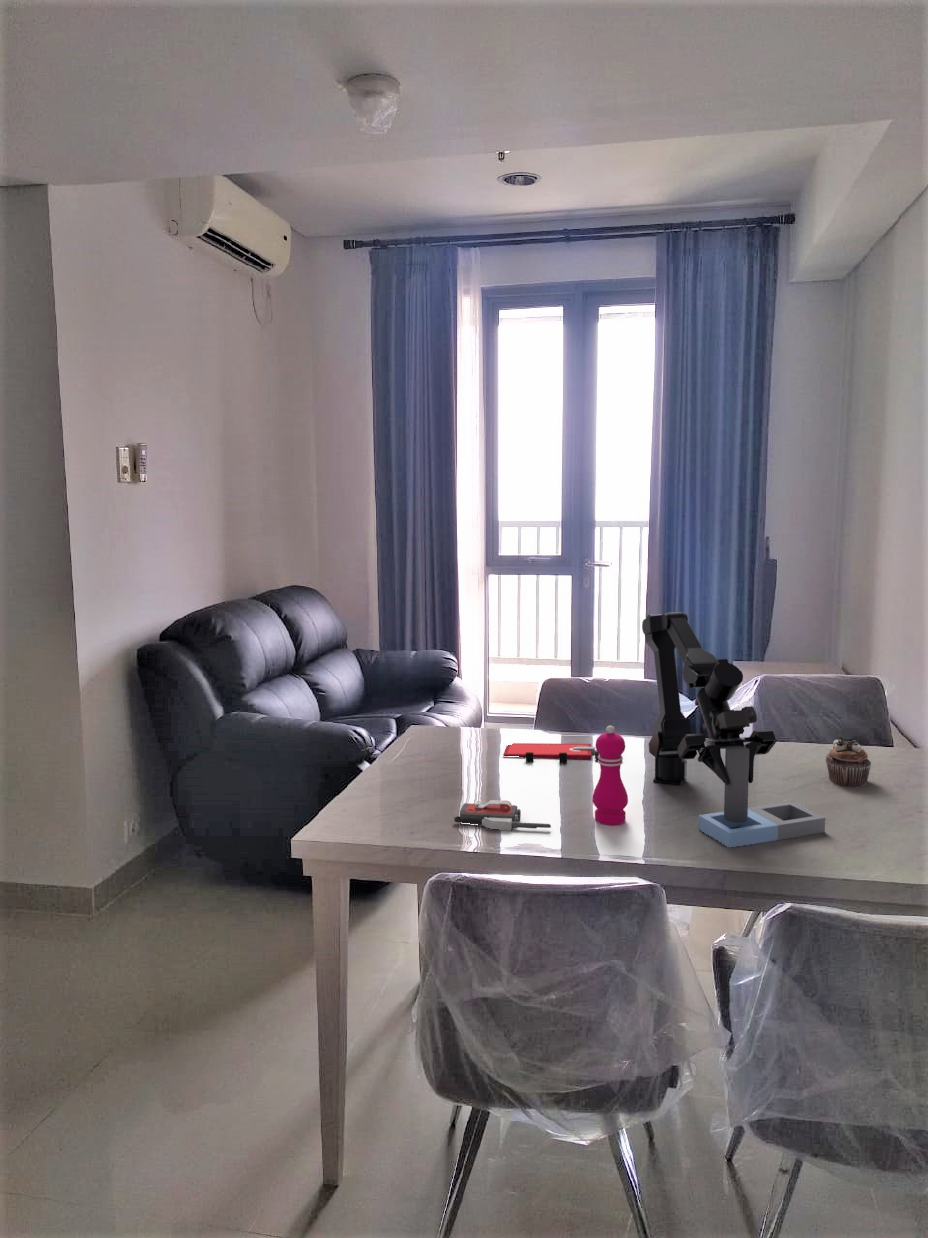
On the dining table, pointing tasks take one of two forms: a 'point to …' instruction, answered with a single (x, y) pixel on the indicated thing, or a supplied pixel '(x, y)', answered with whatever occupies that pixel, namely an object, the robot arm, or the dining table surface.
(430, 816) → the dining table surface
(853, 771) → the cupcake
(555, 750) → the red board with handle
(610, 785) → the pepper mill
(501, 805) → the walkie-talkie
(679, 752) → the robot arm
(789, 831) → the two-hole peg board
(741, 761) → the plug
